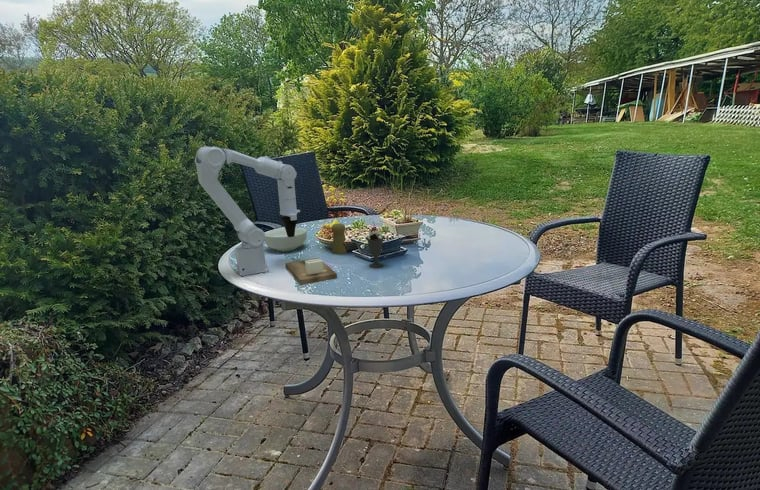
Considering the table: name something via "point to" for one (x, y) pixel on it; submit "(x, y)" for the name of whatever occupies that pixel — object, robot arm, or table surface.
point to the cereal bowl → (285, 239)
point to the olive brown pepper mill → (338, 239)
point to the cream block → (314, 266)
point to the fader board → (303, 278)
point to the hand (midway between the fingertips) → (290, 236)
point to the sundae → (375, 246)
